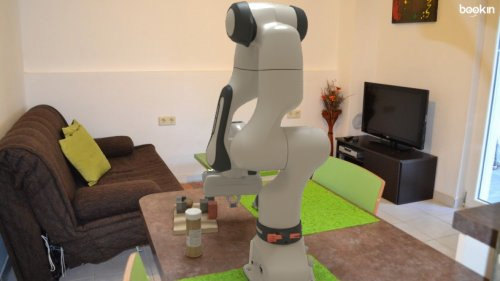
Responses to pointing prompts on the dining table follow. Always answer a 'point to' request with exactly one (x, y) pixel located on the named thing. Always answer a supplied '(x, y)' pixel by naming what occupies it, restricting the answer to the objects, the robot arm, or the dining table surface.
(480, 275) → the dining table surface
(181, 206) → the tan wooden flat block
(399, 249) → the dining table surface
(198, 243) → the sprinkles bottle
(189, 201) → the brown ball
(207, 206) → the lever
